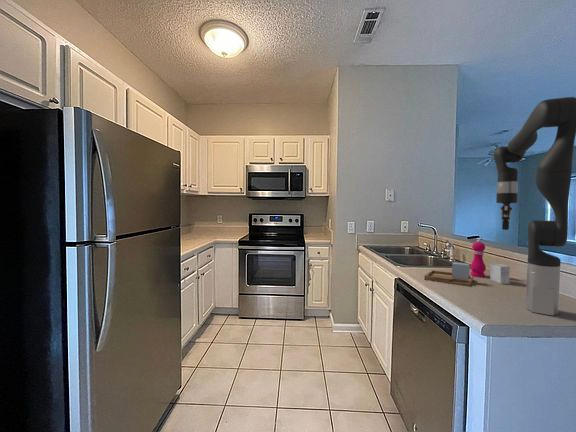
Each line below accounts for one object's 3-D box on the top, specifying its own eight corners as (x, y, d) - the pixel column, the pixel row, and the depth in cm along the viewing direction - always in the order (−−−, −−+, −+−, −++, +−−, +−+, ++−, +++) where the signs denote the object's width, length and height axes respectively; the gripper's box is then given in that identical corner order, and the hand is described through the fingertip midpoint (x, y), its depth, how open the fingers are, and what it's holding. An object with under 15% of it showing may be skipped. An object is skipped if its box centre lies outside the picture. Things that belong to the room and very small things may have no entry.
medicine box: (509, 284, 148) (510, 266, 148) (500, 284, 148) (501, 266, 148) (498, 280, 156) (499, 263, 155) (489, 280, 156) (490, 263, 156)
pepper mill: (470, 273, 169) (471, 238, 168) (485, 275, 165) (487, 239, 164) (469, 276, 164) (470, 239, 163) (485, 278, 159) (486, 240, 158)
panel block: (467, 281, 149) (468, 265, 148) (451, 279, 153) (452, 263, 152) (469, 279, 152) (469, 263, 152) (453, 277, 156) (453, 262, 156)
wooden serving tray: (469, 286, 143) (469, 281, 143) (424, 279, 155) (424, 275, 155) (473, 279, 156) (473, 275, 156) (431, 274, 168) (431, 270, 168)
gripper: (517, 191, 125) (516, 230, 126) (517, 192, 136) (516, 228, 137) (495, 192, 129) (494, 229, 130) (497, 192, 141) (496, 227, 141)
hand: (505, 229), depth 133 cm, fingers open, 8 cm apart
